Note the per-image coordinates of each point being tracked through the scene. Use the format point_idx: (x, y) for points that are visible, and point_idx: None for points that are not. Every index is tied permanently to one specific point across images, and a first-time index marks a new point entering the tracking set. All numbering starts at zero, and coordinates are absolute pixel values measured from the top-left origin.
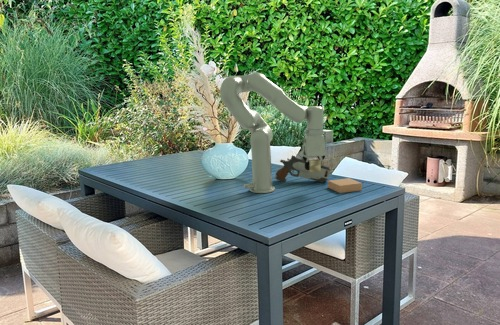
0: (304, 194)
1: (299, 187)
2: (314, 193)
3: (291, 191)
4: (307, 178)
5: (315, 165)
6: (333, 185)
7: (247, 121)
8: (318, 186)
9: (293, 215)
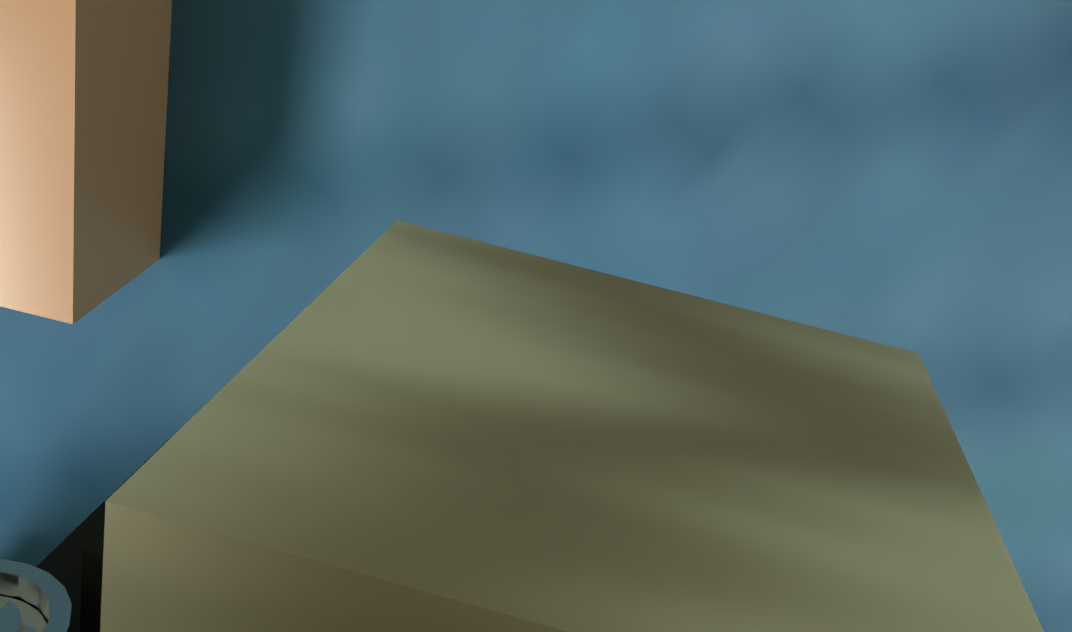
0: (1004, 117)
1: None
2: (747, 36)
3: (1012, 500)
4: None
5: (646, 429)
6: (112, 17)
7: None
8: None
9: None
